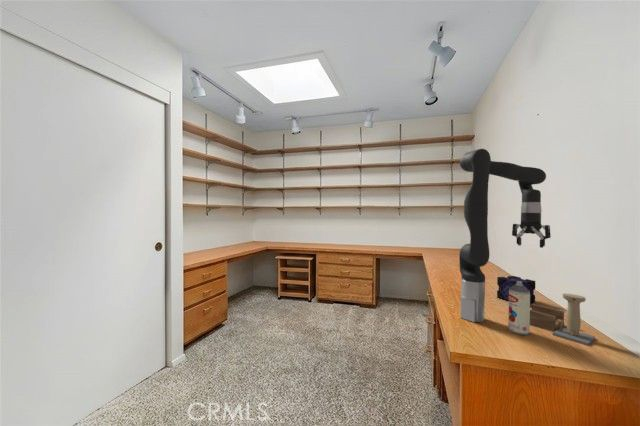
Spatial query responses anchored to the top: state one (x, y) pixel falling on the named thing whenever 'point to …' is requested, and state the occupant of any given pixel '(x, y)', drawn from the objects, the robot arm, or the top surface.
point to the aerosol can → (519, 309)
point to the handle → (573, 313)
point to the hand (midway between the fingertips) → (530, 246)
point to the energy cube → (509, 282)
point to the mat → (581, 338)
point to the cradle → (546, 317)
